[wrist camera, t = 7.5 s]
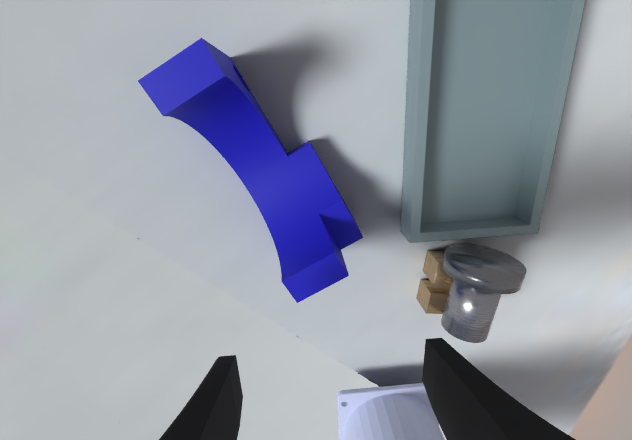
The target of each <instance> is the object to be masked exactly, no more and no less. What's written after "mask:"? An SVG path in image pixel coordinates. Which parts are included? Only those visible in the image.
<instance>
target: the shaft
mask: <svg viewBox="0 0 632 440" xmlns="http://www.w3.org/2000/svg"><path fill="white" fill-rule="evenodd" d="M423 272H424V273H425V274H426V276H427V277H428V278H429V280H425V279H421V281H420V285H419V290H418V294H417V300H418V301H419V303H420V305H421V306H422V308H423V309H424V311H425V313H432V314H443V316H442V319H441V323H442V326H443V327H444V329H445V330H446V331H447V332H448V333H450V334H451V335H453V336H454V337H456V338H458V339H461V340H463V341H467V342H472V343H479V342H483V341H485V340H486V339H487V336H488V333H489V330H490V327H491V324H492V321H493V318H494V315H495V312H496V309H497V306H498V303H499V300H500V297H501V294H511V293H515V292H517V291H519V290H520V289H521V286H522V283H523V280H524V277H525V274H526V268H525V266H524V265H523V264H522V263H521V262H520V261H518V260H517V259H515V258H513V257H512V256H510V255H508V254H505V253H503V252H501V251H498V250H495V249H492V248H488V247H484V246H480V245H474V244H452V245H449V246H448V247H447V248H446V249H445V251H427V255H426V259H425V263H424V268H423Z"/></svg>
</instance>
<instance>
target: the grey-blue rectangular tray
mask: <svg viewBox="0 0 632 440" xmlns="http://www.w3.org/2000/svg"><path fill="white" fill-rule="evenodd" d="M584 4H585V0H410V21H409V45H408V68H407V92H406V115H405V138H404V162H403V185H402V209H401V232H402V234H403V235H404V236H405V237H406V239H407V240H408V241H409V242H410V243H415V242H428V241H441V240H454V239H468V238H481V237H494V236H507V235H521V234H534V233H538V229H539V224H540V219H541V214H542V209H543V204H544V200H545V195H546V190H547V185H548V180H549V175H550V170H551V165H552V161H553V156H554V151H555V146H556V141H557V136H558V131H559V126H560V121H561V117H562V112H563V107H564V102H565V97H566V92H567V87H568V82H569V78H570V73H571V68H572V63H573V58H574V53H575V48H576V43H577V38H578V34H579V29H580V24H581V19H582V14H583V9H584Z"/></svg>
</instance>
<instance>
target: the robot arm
mask: <svg viewBox="0 0 632 440" xmlns="http://www.w3.org/2000/svg"><path fill="white" fill-rule="evenodd" d="M422 381H423V383H416V384H405V385H394V386H384V387H373V388H362V389H352V390H343V391H340V392H339V393H338V394H337V404H338V429H339V440H445V439H444V437H443V435H442V432H441V430H440V428H439V424H440V426H441V429H442V431H443V433H444V435H445V437H446V439H447V440H575V439H574V438H572V437H571V436H569V435H567V434H565V433H564V432H562V431H561V430H559V429H558V428H556V427H554V426H553V425H551V424H550V423H548V422H547V421H545V420H544V419H542V418H541V417H539V416H538V415H536V414H535V413H533V412H532V411H531V410H529V409H528V408H526V407H525V406H523V405H522V404H521V403H519V402H518V401H517V400H515V399H514V398H513V397H511V396H510V395H509V394H507V393H506V392H505V391H503V390H502V389H501V388H500V387H498V386H497V385H496V384H495V383H493V382H492V381H491V380H490V379H488V378H487V377H486V376H485V375H484V374H482V373H481V372H480V371H479V370H478V369H476V368H475V367H474V366H473V365H472V364H471V363H470V362H468V361H467V360H466V359H465V358H464V357H463V356H462V355H460V354H459V353H458V352H457V351H456V350H455V349H454V348H453V347H451V346H450V345H449V344H448V343H447V342H446V341H445V340H443V339H442V338H435V339H426V344H425V355H424V366H423V378H422ZM242 399H243V395H242V389H241V383H240V377H239V371H238V366H237V360H236V355H233V356H221V357H218V359H217V360H216V361H215V363H214V364H213V366H212V368H211V369H210V371H209V372H208V374H207V375H206V377H205V378H204V380H203V381H202V383H201V384H200V386H199V387H198V389H197V390H196V392H195V393H194V394H193V396H192V397H191V399H190V400H189V401H188V403H187V404H186V406H185V407H184V408H183V410H182V411H181V412H180V414H179V415H178V416H177V418H176V419H175V420H174V421H173V423H172V424H171V425H170V427H169V428H168V429H167V430H166V432H165V433H164V434H163V435H162V437H161V438H160V439H159V440H237V436H238V431H239V426H240V418H241V409H242Z"/></svg>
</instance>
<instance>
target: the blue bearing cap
mask: <svg viewBox="0 0 632 440" xmlns="http://www.w3.org/2000/svg"><path fill="white" fill-rule="evenodd" d="M138 82H139V83H140V84H141V86H142V87H143V89H144V90H145V91H146V93H147V94H148V96H149V97H150V98H151V100H152V101H153V103H154V104H155V105H156V107H157V108H158V110H159V111H160V112H161V114H162V115H163V116H170V117H174V118H176V119H179V120H181V121H183V122H185V123H186V124H188V125H189V126H191V127H192V128H194V129H195V130H196V131H198V132H199V133H200V134H201V135H202V136H203V137H205V138H206V139H207V140H208V141H209V142H210V143H211V144H212V145H213V146H214V147H215V148H216V149H217V150H218V152H219V153H220V154H221V155H222V156H223V157H224V158H225V160H226V161H227V162H228V163H229V164H230V166H231V167H232V168H233V170H234V171H235V172H236V174H237V175H238V176H239V178H240V179H241V181H242V182H243V184H244V185H245V186H246V188H247V190H248V191H249V193H250V194H251V196H252V198H253V199H254V201H255V203H256V204H257V206H258V208H259V210H260V212H261V214H262V216H263V218H264V220H265V222H266V224H267V226H268V228H269V230H270V233H271V235H272V238H273V240H274V243H275V246H276V249H277V252H278V256H279V260H280V265H281V273H282V282H283V284H284V285H285V286H286V288H287V289H288V291H289V292H290V293H291V295H292V296H293V298H294V299H295V300H296V302H297V303H298V302H300V301H302V300H304V299H305V298H307V297H309V296H311V295H313V294H315V293H317V292H319V291H321V290H323V289H324V288H326V287H328V286H330V285H332V284H334V283H336V282H338V281H340V280H341V279H343V278H345V277H347V276H349V275H348V272H347V268H346V265H345V262H344V259H343V256H342V252H341V249H343V248H345V247H346V246H348V245H350V244H352V243H354V242H356V241H358V240H359V239H361V238H363V236H362V234H361V232H360V230H359V228H358V226H357V224H356V222H355V220H354V218H353V217H352V215H351V213H350V211H349V210H348V208H347V206H346V204H345V203H344V201H343V199H342V197H341V196H340V194H339V192H338V190H337V189H336V187H335V185H334V183H333V182H332V180H331V178H330V176H329V174H328V173H327V171H326V169H325V167H324V166H323V164H322V162H321V160H320V159H319V157H318V155H317V153H316V152H315V150H314V148H313V146H312V145H311V143H310V141H308V142H306V143H304V144H303V145H301V146H299V147H298V148H296V149H294V150H293V151H291V152H289V153H287V151H286V149H285V148H284V146H283V144H282V143H281V141H280V139H279V138H278V136H277V134H276V133H275V131H274V129H273V128H272V126H271V124H270V123H269V121H268V119H267V118H266V116H265V114H264V113H263V111H262V109H261V108H260V106H259V104H258V103H257V101H256V99H255V98H254V96H253V94H252V93H251V91H250V89H249V88H248V86H247V85H246V83H245V81H244V80H243V78H242V76H241V75H240V73H239V71H238V70H237V68H236V66H235V65H234V63H233V61H232V60H231V58H230V57H229V56H227V55H226V54H224V53H223V52H221V51H220V50H218V49H217V48H215V47H214V46H213V45H211V44H210V43H208V42H207V41H205V40H204V39H202V38H201V39H199V40H198V41H196V42H195V43H193V44H192V45H190V46H189V47H187V48H186V49H184V50H183V51H182V52H180V53H179V54H177V55H176V56H174V57H173V58H171V59H170V60H168V61H167V62H165V63H164V64H162V65H161V66H159V67H158V68H156V69H155V70H153V71H152V72H150V73H149V74H147V75H146V76H144V77H143V78H141V79H140V80H138Z"/></svg>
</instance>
